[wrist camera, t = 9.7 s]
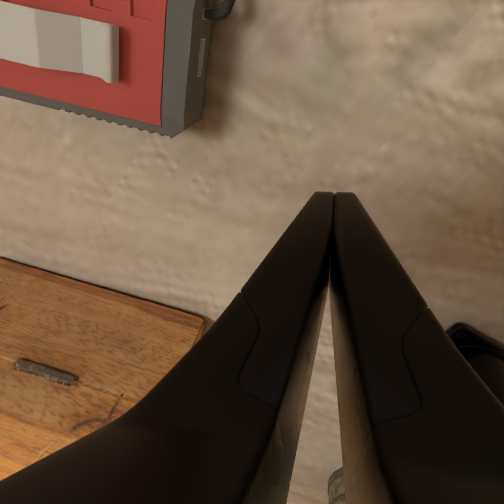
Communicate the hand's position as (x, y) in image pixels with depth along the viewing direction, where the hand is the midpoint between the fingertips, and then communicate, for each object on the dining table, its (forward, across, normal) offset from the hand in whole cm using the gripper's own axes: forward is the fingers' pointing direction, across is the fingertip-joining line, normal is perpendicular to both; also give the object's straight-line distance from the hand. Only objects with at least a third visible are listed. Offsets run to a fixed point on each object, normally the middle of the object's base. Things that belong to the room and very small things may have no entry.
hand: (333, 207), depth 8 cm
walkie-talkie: (+13, +15, -2) cm, 20 cm away
